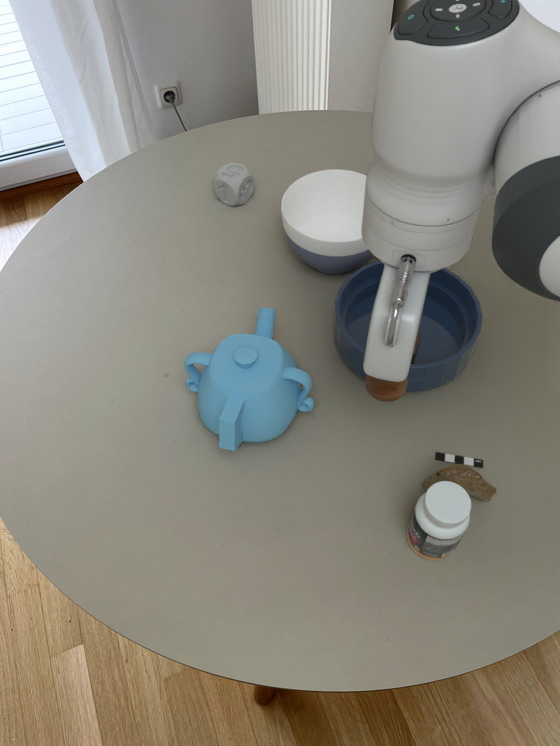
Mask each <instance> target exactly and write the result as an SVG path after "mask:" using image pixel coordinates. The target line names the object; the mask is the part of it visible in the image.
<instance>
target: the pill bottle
mask: <svg viewBox="0 0 560 746" xmlns="http://www.w3.org/2000/svg"><path fill="white" fill-rule="evenodd" d="M471 510H472V500H471V498H470V495H469V494H468V493H467V492H466V491H465V490H464V489H463V488H462V487H461V486H460V485H458V484H456V483H453V482H449V481H441V482H437V483H435V484H433V485H432V486H431V487H430V488H429V489H428V490H426V491H425V492H424V493H423V494H422V495H421V496H420V497H419V498H418V500H417V502H416V504H415V506H414V509H413V512H412V515H411V517H410V520H409V522H408V525H407V528H406V538H407V542H408V544H409V546H410V547H411V549H412V550H413V552H415V553H416V554H417V555H418V556H419V557H421V558H424V559H426V560H430V561H440V560H444V559H446V558H448V557H450V556H451V555H452V553H454V551H456V548H457V547H458V545H459V543H460V541H461V539H462V538H463V536H464V534H465V532H466V531H467V529H468V528H469V525H470V522H471V521H470V520H471Z"/></svg>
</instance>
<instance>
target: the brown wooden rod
mask: <svg viewBox="0 0 560 746" xmlns="http://www.w3.org/2000/svg"><path fill="white" fill-rule="evenodd" d="M364 387H365V390H366V392H367V393H368V394H369V396H370V397H371V398H372V399H374V400H375V401H376V400H377V401H379V402H384V403H390V402H392V403H393V402H395V401H398V400H399V399H401V398H402V397H403V396H404V394H405V393H406V391H405V390H406V387H407V378H406V379H405V380H404V381H401V382H394V381H387V380H383V379H378V378H375V377H372V376H369V375H366V380H364Z"/></svg>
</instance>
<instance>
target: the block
mask: <svg viewBox="0 0 560 746" xmlns="http://www.w3.org/2000/svg"><path fill="white" fill-rule="evenodd" d="M421 335H422V334H420V333H417V337H416V342H415V346H414V351H413V355H412V360H411V364H413V363H414V360H415V357H416V354H417V351H418V347H419V343H420V339H421Z"/></svg>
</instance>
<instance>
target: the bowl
mask: <svg viewBox="0 0 560 746" xmlns="http://www.w3.org/2000/svg"><path fill="white" fill-rule="evenodd" d="M366 177H367V174H363V173H361V172H358V171H353V170H350V169H349V170H348V169H324V170H323V169H322V170H318V171H314V172H310V173H308V174H306V175H304V176H302V177H301V176H300V178H298V179H297V180H295V181H293V183H291V184H290V186H288V187H287V189H286V190H285V191H284V193H283V196H282V199H281V202H280V203H281V205H280V211H281V212H280V213H281V218H282V219H281V221H282V226H283V229H284V233H285V237H286V240H287V242H288V245H290V248H291V249H292V250H293V251H294V253H295V254H296V255H297V256H298V257H299V259H300V260H301V261H302V262H304V263H305V264H307V265H308V266H310V267H312V268H313V269H315V270H316V271H319V272H321V273H325V274H330V275H338V274H344V273H348V272H350V271H352V270H354V269H356V268H358V267H361V266H362V265H364V264H365V263H367V262H368V261H369V260H370V259H371V258H372V257H373V256H374V255H373V254H372V253H371V252H370V251H369V249H368V248H367V247H366V245H365V243H364V241H363V238H362V234H361V226H362V216H363V204H364V194H365V185H366Z"/></svg>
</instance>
